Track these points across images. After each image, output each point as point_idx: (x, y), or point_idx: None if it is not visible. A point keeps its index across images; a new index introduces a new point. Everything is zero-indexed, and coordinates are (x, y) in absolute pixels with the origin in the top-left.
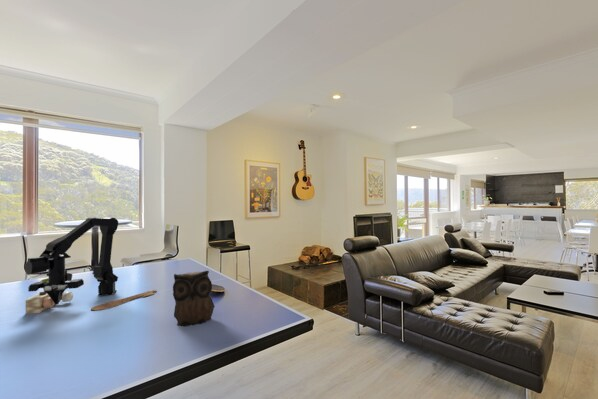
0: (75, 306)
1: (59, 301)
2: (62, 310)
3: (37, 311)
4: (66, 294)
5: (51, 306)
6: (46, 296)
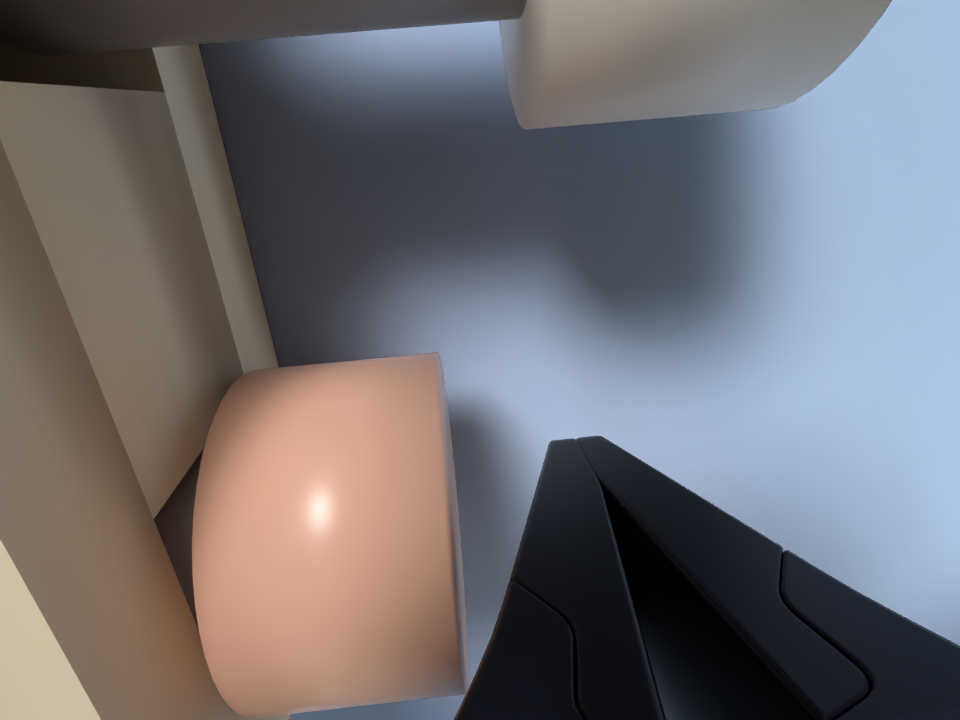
0: (901, 306)
1: (635, 465)
2: (715, 500)
3: None
4: (767, 29)
5: (454, 475)
6: (102, 599)
